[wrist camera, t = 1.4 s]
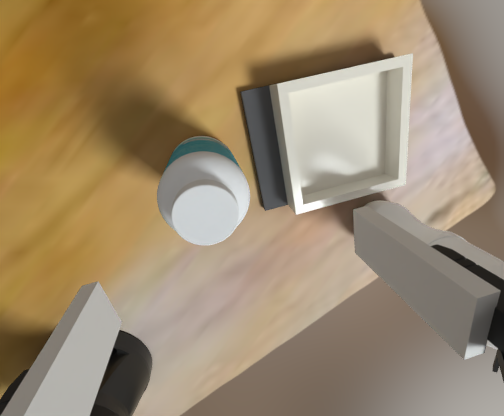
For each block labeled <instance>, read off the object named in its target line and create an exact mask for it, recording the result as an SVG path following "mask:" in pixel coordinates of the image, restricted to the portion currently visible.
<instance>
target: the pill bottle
mask: <svg viewBox="0 0 504 416" xmlns="http://www.w3.org/2000/svg"><path fill="white" fill-rule="evenodd" d="M157 202H158V207H159V210H160V213H161V215H162V216H163V218H164V220H165V221H166V222H167V223H168V225H169V226H170V227H172V228H173V229H174V230H175V231H176V232H177V233H178V234H179V235H180V236H181V237H182V238H183V239H185V240H186V241H188V242H190V243H193V244H196V245H212V244H216V243H219V242H221V241H223V240H225V239H226V238H228V237H229V236H230V235H231V234H232V233H233V231H234V230H235V228H236V227H237V226H238V225H239V224H240V223H241V221H242V220H243V218H244V217H245V215H246V213H247V210H248V207H249V202H250V191H249V186H248V182H247V180H246V178H245V176H244V174H243V172H242V170H241V169H240V167H239V165H238V163H237V161H236V160H235V158H234V156H233V154H232V153H231V151H230V150H229V149H228V147H227V146H226V145H225V144H223V143H222V142H221V141H219V140H217V139H215V138H212V137H208V136H195V137H191V138H188V139H186V140H184V141H183V142H182V143H180V144H179V145H178V146H177V147H176V149H175V150H174V151H173V153H172V155H171V157H170V160H169V162H168V164H167V166H166V168H165V171H164V173H163V175H162V177H161V180H160V182H159V186H158V190H157Z"/></svg>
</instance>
